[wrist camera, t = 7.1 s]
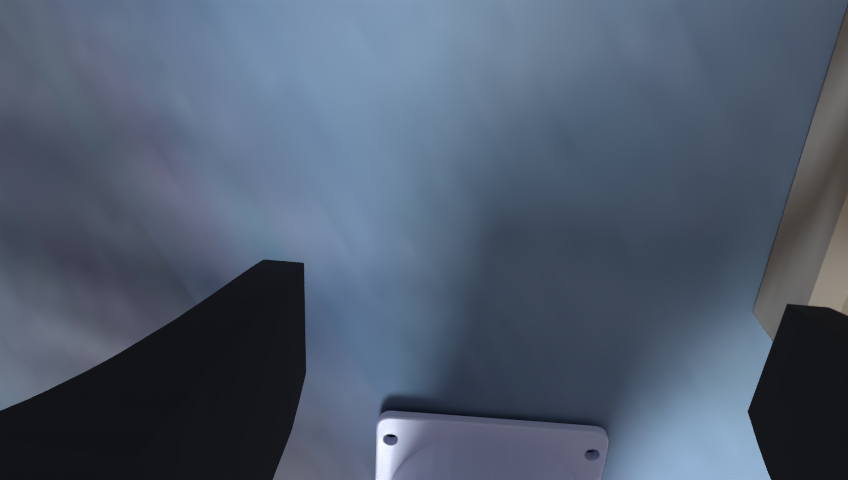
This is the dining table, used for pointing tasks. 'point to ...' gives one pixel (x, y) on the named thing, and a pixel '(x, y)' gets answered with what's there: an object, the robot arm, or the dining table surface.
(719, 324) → the dining table surface
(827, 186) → the tray
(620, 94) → the dining table surface
